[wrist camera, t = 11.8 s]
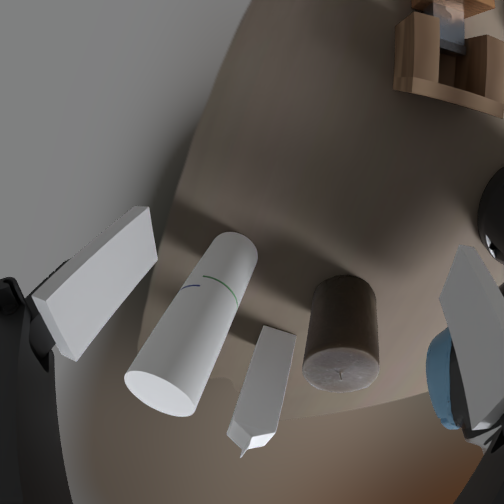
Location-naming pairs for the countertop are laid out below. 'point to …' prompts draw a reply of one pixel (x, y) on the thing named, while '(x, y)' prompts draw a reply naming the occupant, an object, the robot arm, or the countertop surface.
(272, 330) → the milk
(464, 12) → the brown and grey block
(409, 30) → the socket
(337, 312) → the pillar candle
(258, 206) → the countertop surface
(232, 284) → the cylindrical container
